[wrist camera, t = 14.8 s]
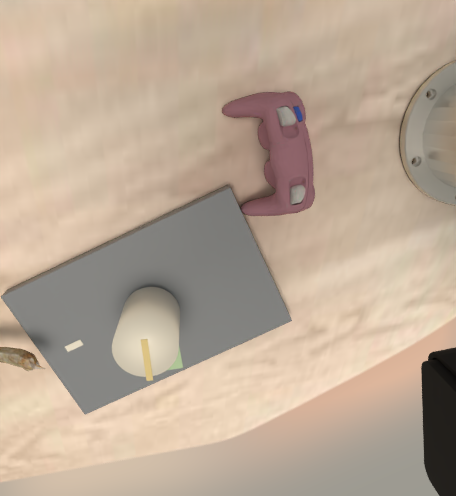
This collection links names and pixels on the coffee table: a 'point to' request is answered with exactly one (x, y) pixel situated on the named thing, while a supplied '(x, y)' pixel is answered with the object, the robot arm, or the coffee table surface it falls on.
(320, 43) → the coffee table surface
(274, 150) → the video game controller
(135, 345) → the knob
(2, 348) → the pine cone
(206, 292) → the dial board
